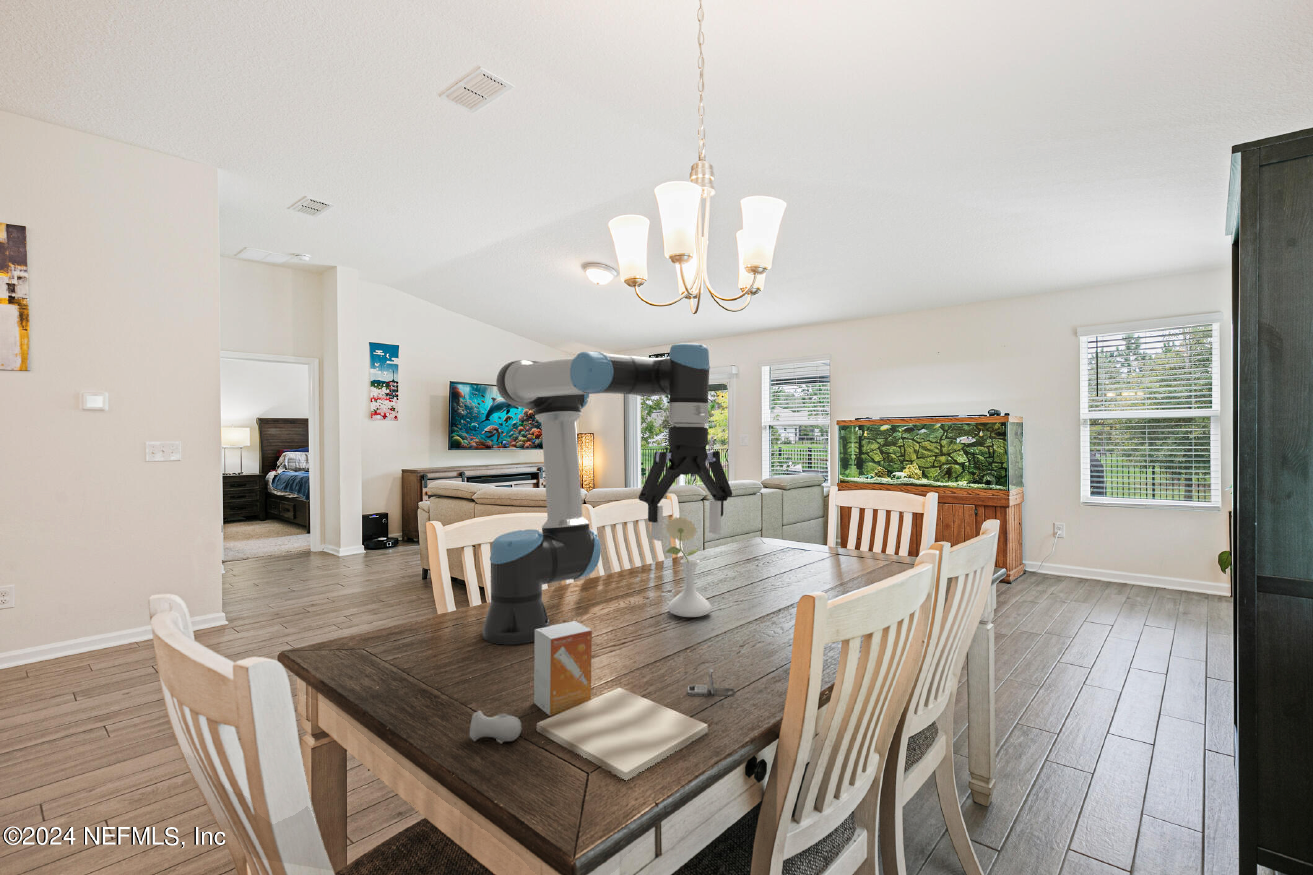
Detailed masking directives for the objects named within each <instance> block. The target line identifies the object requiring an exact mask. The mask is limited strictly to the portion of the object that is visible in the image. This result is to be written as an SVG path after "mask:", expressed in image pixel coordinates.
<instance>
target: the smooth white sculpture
mask: <svg viewBox="0 0 1313 875" xmlns="http://www.w3.org/2000/svg"><path fill="white" fill-rule="evenodd" d="M470 721H471V722H470V727H469V738H470V739H471V740H472V741H474V742H476V741H477V740H478V739H480V738H484V737H487V738H494V739H496V740H495V741H496V742H497V741H498V742H500V743H499V744H503V743H502V742H504V743H505V742H513V741H515V740H516V739H517V738H519V736H520V734H521V733H522V728H523V727H522V723H521V720H520V719H519V718H518V717H516V716H514V715H510V714H508V713H499V714H498V715H495V716H493V717H489V716H486V715H484V714H483V712H482V711H481V710H478V711H476V712H474V713H472V716H471V720H470ZM498 742H497V743H498Z"/></svg>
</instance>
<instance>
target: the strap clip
mask: <svg viewBox="0 0 1313 875" xmlns="http://www.w3.org/2000/svg"><path fill="white" fill-rule="evenodd" d="M708 673H709V674H708V676H709V686H708V685H706V684H705V685H704V684H691V685H688V686H687V695H688V696H694V695H695V696H696V697H697V696H702V695H704V696H707V697H708V695H710V692H711V694H712V695H713V696H716V697H728V696H729V697H735V696H736V692H735V689H734V688H728V687H721V688H720V687H717V688H716V687H714V680H713V673H714V669H711V668H709V672H708ZM728 691H731V692H732V694H729V692H728ZM695 696H694V697H695Z"/></svg>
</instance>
